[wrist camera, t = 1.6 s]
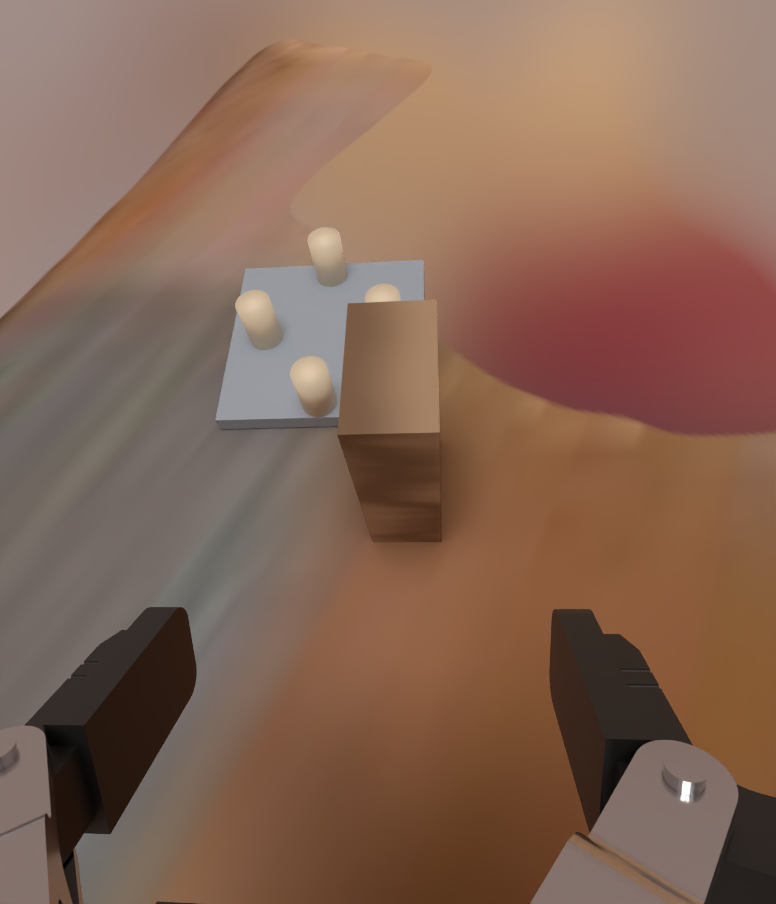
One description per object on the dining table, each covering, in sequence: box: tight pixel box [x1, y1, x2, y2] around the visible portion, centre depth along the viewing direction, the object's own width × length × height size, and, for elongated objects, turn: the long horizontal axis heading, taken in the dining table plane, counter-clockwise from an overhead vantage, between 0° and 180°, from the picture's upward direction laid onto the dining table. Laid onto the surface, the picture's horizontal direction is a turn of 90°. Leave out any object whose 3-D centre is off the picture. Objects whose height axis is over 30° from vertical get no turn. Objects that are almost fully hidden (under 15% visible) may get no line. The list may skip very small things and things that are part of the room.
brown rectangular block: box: [338, 299, 441, 542], centre depth 25 cm, size 4×6×11 cm, turn 179°
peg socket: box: [215, 227, 424, 429], centre depth 34 cm, size 12×12×4 cm
